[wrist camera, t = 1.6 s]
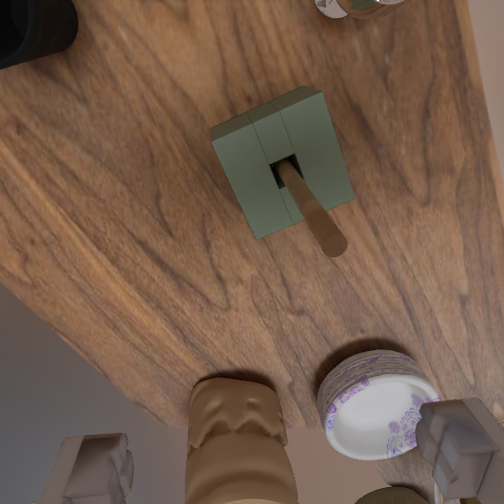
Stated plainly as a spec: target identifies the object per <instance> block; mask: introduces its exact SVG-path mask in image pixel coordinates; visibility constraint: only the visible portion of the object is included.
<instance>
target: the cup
mask: <svg viewBox="0 0 504 504" xmlns="http://www.w3.org/2000/svg"><path fill="white" fill-rule="evenodd" d="M77 31H78V18H77V13H76V10H75V7H74V4H73V3H72V1H71V0H0V69H4V68H7V67H11V66H14V65H17V64H21V63H24V62H27V61H31V60H34V59H37V58H41V57H44V56H48V55H51V54H54V53H58V52H60V51H63V50H65V49H66V48H68V47H69V46H70V45H71V44H72V42H73V41H74V39H75V37H76V34H77Z"/></svg>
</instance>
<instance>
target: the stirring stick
mask: <svg viewBox="0 0 504 504" xmlns="http://www.w3.org/2000/svg"><path fill="white" fill-rule="evenodd" d="M273 164H274V166H275V168H276V170H277V172H278V173H279V175H280V177H281V179H282V180H283V182H284V184H285V186H286V187H287V189H288V191H289V193H290V194H291V196H292V198H293V200H294V201H295V203H296V205H297V207H298V208H299V210H300V212H301V214H302V215H303V217H304V219H305V221H306V222H307V224H308V226H309V228H310V230H311V231H312V233H313V235H314V237H315V238H316V240H317V242H318V244H319V245H320V247H321V249H322V251H323V252H324V254H326V255H327V256H329V257H337V256H340V255H341V254H343V253H344V252H345V250H346V248H347V239H346V238H345V236H344V235H343V234H342V232H341V231H340V229H339V228H338V227H337V225H336V224H335V223H334V221H333V220H332V219H331V217H330V216H329V214H328V213H327V212H326V210H325V209H324V208H323V206H322V205H321V204H320V202H319V201H318V200H317V198H316V197H315V195H314V194H313V193H312V191H311V190H310V189H309V187H308V186H307V185H306V183H305V182H304V181H303V179H302V178H301V176H300V175H299V174H298V172H297V171H296V170H295V168H294V167H293V166H292V164H291V163H290V161H289V160H288V159H287V157H285V158H283V159H281V160H279V161H276V162H274V163H273Z"/></svg>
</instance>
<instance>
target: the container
mask: <svg viewBox="0 0 504 504" xmlns="http://www.w3.org/2000/svg"><path fill="white" fill-rule="evenodd" d="M287 444H288V440H287V435H286V430H285V425H284V419H283V414H282V410H281V405H280V402H279V399H278V396H277V395H276V391H272V390H271V389H270V388H269V387H267V386H265V385H262V384H259V383H254V382H250V381H243V380H235V379H229V378H223V377H218V378H213V379H209V380H205V381H202V382H201V383H199V384H197V385H196V386H195V387H194V388H193V390H192V392H191V396H190V413H189V425H188V442H187V459H186V473H185V504H299V503H298V501H297V499H298V495H297V488H296V482H295V477H294V474H293V471H292V467H291V464H290V461H289V459H288V456H287V453H286V451H285V449H284V447H283V446H286V445H287Z"/></svg>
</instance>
